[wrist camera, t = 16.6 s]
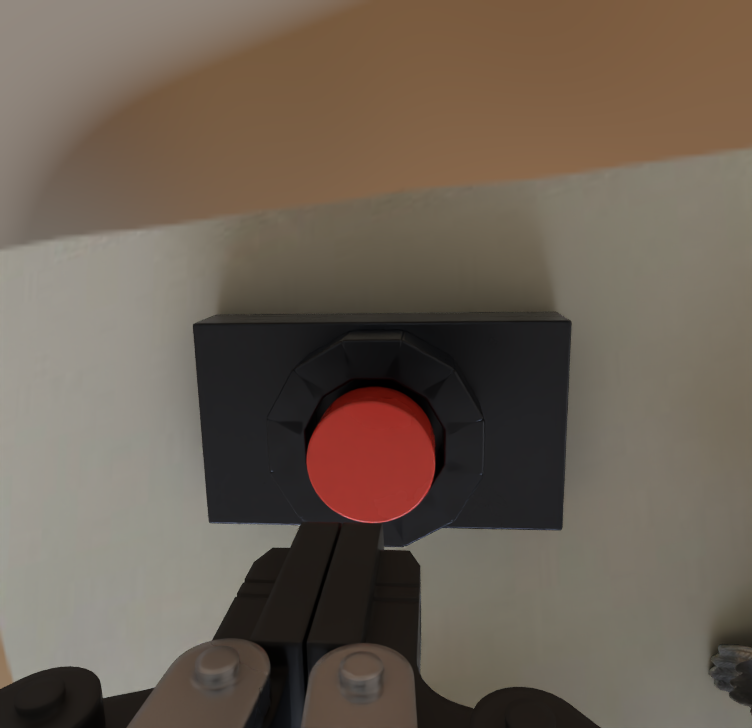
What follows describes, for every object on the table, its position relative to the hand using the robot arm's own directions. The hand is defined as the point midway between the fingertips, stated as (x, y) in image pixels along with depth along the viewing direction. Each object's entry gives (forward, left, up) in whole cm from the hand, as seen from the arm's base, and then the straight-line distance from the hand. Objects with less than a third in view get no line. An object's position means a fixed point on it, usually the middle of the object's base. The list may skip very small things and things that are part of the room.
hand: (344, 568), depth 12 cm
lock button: (0, 0, -8) cm, 8 cm away
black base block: (0, 0, -11) cm, 11 cm away
